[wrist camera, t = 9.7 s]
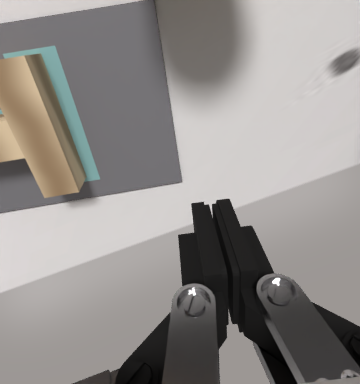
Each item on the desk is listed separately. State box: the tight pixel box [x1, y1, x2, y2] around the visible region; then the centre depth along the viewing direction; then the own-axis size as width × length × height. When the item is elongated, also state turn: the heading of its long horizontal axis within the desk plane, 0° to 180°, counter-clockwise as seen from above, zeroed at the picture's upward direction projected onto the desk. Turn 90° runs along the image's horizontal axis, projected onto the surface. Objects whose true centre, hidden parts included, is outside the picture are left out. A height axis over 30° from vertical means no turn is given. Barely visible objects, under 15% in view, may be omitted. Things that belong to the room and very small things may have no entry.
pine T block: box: [0, 53, 86, 198], centre depth 28 cm, size 12×14×4 cm
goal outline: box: [0, 46, 100, 182], centre depth 30 cm, size 13×15×1 cm
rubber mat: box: [0, 0, 182, 213], centre depth 30 cm, size 28×20×1 cm
